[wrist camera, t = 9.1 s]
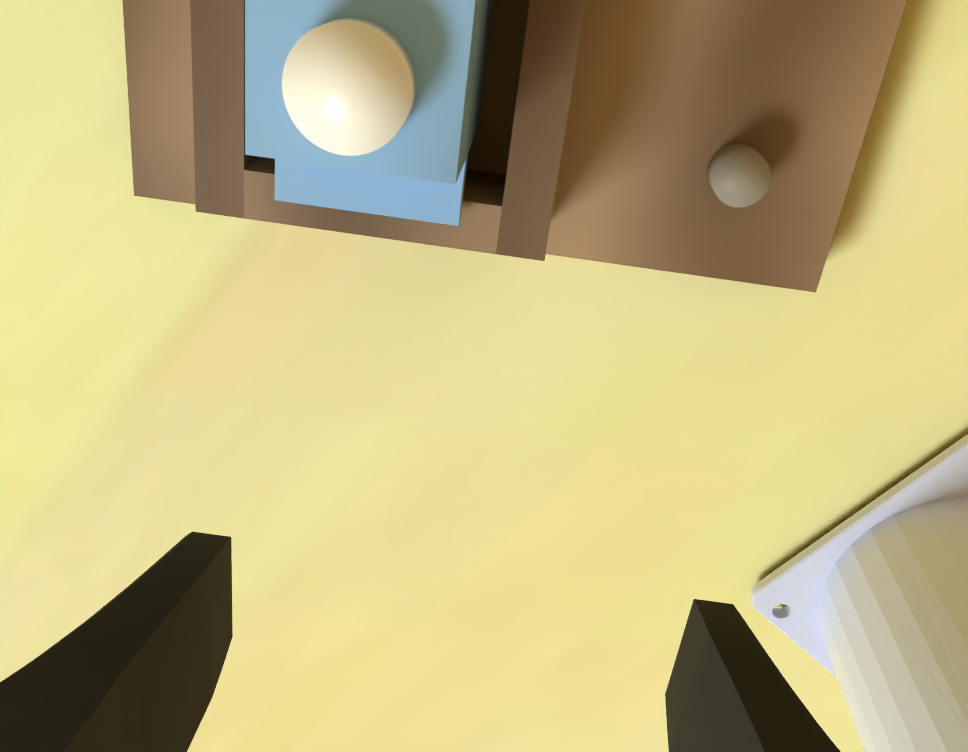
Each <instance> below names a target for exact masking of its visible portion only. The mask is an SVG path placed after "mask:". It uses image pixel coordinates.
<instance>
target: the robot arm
mask: <svg viewBox="0 0 968 752" xmlns="http://www.w3.org/2000/svg"><path fill="white" fill-rule="evenodd" d="M750 598H751V602H752V605H753V607H754V608H755V609H756V610H757V611H758V612H759V613H760V614H761V615H763V616H764V617H765V618H766V619H767V620H769V621H770V622H771V623H772V624H773V625H775V626H776V627H777V628H778V629H779V630H781V631H782V632H783V633H784V634H785V635H786V636H788V637H789V638H790V639H791V640H792V641H794V642H795V643H796V644H797V645H798V646H800V647H801V648H802V649H803V650H804V651H806V652H807V653H808V654H809V655H810V656H812V657H813V658H814V659H815V660H816V661H818V662H819V663H820V664H821V665H822V666H824V667H825V668H826V669H827V670H828V671H829V672H831V673H832V674H833V675H834V676H835V677H837V679H838V681H839V684H840V687H841V690H842V692H843V695H844V698H845V700H846V703H847V706H848V709H849V711H850V714H851V717H852V720H853V722H854V725H855V728H856V730H857V733H858V736H859V739H860V741H861V744H862V747H863V749H864V752H968V434H967V435H966V436H964V437H963V438H961V439H960V440H959V441H957V442H956V443H954V444H953V445H951V446H950V447H949V448H947V449H946V450H944V451H943V452H942V453H940V454H939V455H937V456H936V457H934V458H933V459H932V460H930V461H929V462H927V463H926V464H925V465H923V466H922V467H920V468H919V469H918V470H916V471H915V472H913V473H912V474H910V475H909V476H908V477H906V478H905V479H903V480H902V481H901V482H899V483H898V484H896V485H895V486H893V487H892V488H891V489H889V490H888V491H886V492H885V493H884V494H882V495H881V496H879V497H878V498H876V499H875V500H874V501H872V502H871V503H869V504H868V505H867V506H865V507H864V508H862V509H861V510H859V511H858V512H857V513H855V514H854V515H852V516H851V517H850V518H848V519H847V520H845V521H844V522H842V523H841V524H840V525H838V526H837V527H835V528H834V529H833V530H831V531H830V532H828V533H827V534H826V535H824V536H823V537H821V538H820V539H818V540H817V541H816V542H814V543H813V544H811V545H810V546H809V547H807V548H806V549H804V550H803V551H801V552H800V553H799V554H797V555H796V556H794V557H793V558H792V559H790V560H789V561H787V562H786V563H784V564H783V565H782V566H780V567H779V568H777V569H776V570H775V571H773V572H772V573H770V574H769V575H767V576H766V577H765V578H763V579H762V580H760V581H759V582H758V583H756V584H755V585H754V586H753V587H752V588H751V591H750ZM779 604H785V605H786V606H785V607H784V608H781V609H774V607H775V606H777V605H779ZM231 639H232V565H231V537H227V536H220V535H213V534H205V533H198V532H191V533H190V534H188V535H187V536H185V537H184V538H183V539H182V540H181V541H180V542H178V543H177V544H176V545H175V546H174V547H173V548H172V549H171V550H169V551H168V552H167V553H166V554H165V555H164V556H163V557H162V558H160V559H159V560H158V561H157V562H156V563H155V564H154V565H152V566H151V567H150V568H149V569H148V570H147V571H146V572H144V573H143V574H142V575H141V576H140V577H139V578H137V579H136V580H135V581H134V582H133V583H132V584H131V585H129V586H128V587H127V588H126V589H125V590H123V591H122V592H121V593H120V594H119V595H117V596H116V597H115V598H114V599H112V600H111V601H110V602H109V603H108V604H106V605H105V606H104V607H103V608H101V609H100V610H99V611H98V612H97V613H95V614H94V615H93V616H92V617H90V618H89V619H88V620H87V621H85V622H84V623H83V624H81V625H80V626H79V627H77V628H76V629H75V630H73V631H72V632H71V633H69V634H68V635H67V636H65V637H64V638H63V639H61V640H60V641H59V642H57V643H56V644H55V645H53V646H52V647H51V648H49V649H48V650H47V651H45V652H44V653H43V654H41V655H40V656H38V657H37V658H36V659H34V660H33V661H31V662H30V663H28V664H27V665H25V666H24V667H23V668H21V669H20V670H18V671H17V672H15V673H14V674H12V675H11V676H9V677H8V678H6V679H5V680H3V681H1V682H0V752H187V750H188V748H189V746H190V744H191V742H192V739H193V737H194V735H195V733H196V731H197V729H198V727H199V725H200V722H201V720H202V718H203V716H204V714H205V712H206V710H207V707H208V705H209V703H210V701H211V699H212V696H213V693H214V690H215V688H216V685H217V682H218V679H219V676H220V673H221V670H222V667H223V664H224V661H225V658H226V655H227V652H228V649H229V645H230V642H231ZM665 697H666V715H667V732H668V745H669V752H840V750H839V749H838V748H837V747H836V746H835V744H834V743H833V742H832V741H831V740H830V738H829V737H828V736H827V735H826V733H825V732H824V731H823V729H822V728H821V727H820V726H819V724H818V723H817V722H816V720H815V719H814V718H813V716H812V715H811V714H810V712H809V711H808V710H807V708H806V707H805V706H804V704H803V703H802V702H801V700H800V699H799V698H798V696H797V695H796V694H795V692H794V691H793V690H792V688H791V687H790V685H789V684H788V683H787V681H786V680H785V678H784V677H783V676H782V674H781V673H780V671H779V670H778V668H777V667H776V666H775V664H774V663H773V661H772V660H771V658H770V657H769V656H768V654H767V653H766V651H765V650H764V648H763V647H762V645H761V644H760V642H759V641H758V640H757V638H756V637H755V635H754V634H753V632H752V631H751V629H750V628H749V626H748V625H747V623H746V622H745V620H744V619H743V618H742V616H741V615H740V613H739V612H738V610H737V609H736V608H735V606H734V605H733V604H727V603H720V602H712V601H705V600H697V599H694V600H693V604H692V607H691V610H690V614H689V617H688V620H687V624H686V627H685V630H684V634H683V637H682V640H681V644H680V647H679V650H678V654H677V657H676V660H675V664H674V667H673V670H672V674H671V677H670V680H669V684H668V687H667V690H666V694H665Z"/></svg>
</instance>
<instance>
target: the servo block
mask: <svg viewBox="0 0 968 752" xmlns="http://www.w3.org/2000/svg"><path fill="white" fill-rule="evenodd" d="M493 5H494V0H245V155H252V156H259V157H266V158H273V159H275V196H274V200H277V201H284V202H291V203H298V204H305V205H312V206H320V207H327V208H334V209H341V210H348V211H355V212H362V213H369V214H376V215H383V216H390V217H397V218H405V219H412V220H419V221H426V222H433V223H440V224H447V225H454V226H458V225H459V222H460V219H461V212H462V203H463V194H464V185H465V177H466V168H467V159H468V152H469V150H470V147H471V145H472V142H473V140H474V138H475V135H476V133H477V130H478V128H479V125H480V117H481V108H482V100H483V91H484V82H485V74H486V65H487V57H488V48H489V40H490V31H491V23H492V14H493Z"/></svg>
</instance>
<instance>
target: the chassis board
mask: <svg viewBox="0 0 968 752" xmlns="http://www.w3.org/2000/svg"><path fill="white" fill-rule="evenodd" d="M906 3H907V0H494V5H493V14H492V23H491V31H490V40H489V48H488V57H487V65H486V74H485V82H484V91H483V100H482V108H481V117H480V125H479V128H478V130H477V133H476V135H475V138H474V140H473V142H472V145H471V147H470V150H469V152H468V159H467V168H466V177H465V185H464V194H463V203H462V212H461V219H460V222H459V225H458V226H454V225H447V224H440V223H433V222H426V221H419V220H412V219H405V218H397V217H390V216H383V215H376V214H369V213H362V212H355V211H348V210H341V209H334V208H327V207H320V206H312V205H305V204H298V203H291V202H284V201H277V200H274V196H275V159H273V158H266V157H259V156H252V155H245V0H123V14H124V31H125V48H126V65H127V82H128V99H129V116H130V133H131V150H132V167H133V184H134V196H141V197H148V198H155V199H162V200H169V201H176V202H183V203H190V204H196V212H203V213H210V214H217V215H224V216H231V217H238V218H246V219H253V220H260V221H267V222H274V223H281V224H288V225H295V226H302V227H309V228H316V229H323V230H330V231H337V232H344V233H351V234H358V235H365V236H372V237H379V238H386V239H393V240H400V241H407V242H415V243H422V244H429V245H436V246H443V247H450V248H457V249H464V250H471V251H478V252H485V253H492V254H499V255H506V256H513V257H520V258H527V259H534V260H541V261H544V260H545V254H550V255H557V256H564V257H571V258H578V259H585V260H592V261H599V262H606V263H613V264H620V265H627V266H634V267H641V268H648V269H655V270H662V271H670V272H677V273H684V274H691V275H698V276H705V277H712V278H719V279H726V280H733V281H740V282H747V283H754V284H761V285H768V286H775V287H782V288H789V289H796V290H803V291H810V292H816V290H817V287H818V284H819V281H820V277H821V274H822V271H823V268H824V265H825V261H826V258H827V255H828V252H829V249H830V245H831V242H832V239H833V236H834V233H835V229H836V226H837V223H838V220H839V217H840V213H841V210H842V207H843V204H844V201H845V198H846V194H847V191H848V188H849V185H850V182H851V178H852V175H853V172H854V169H855V166H856V162H857V159H858V156H859V153H860V150H861V146H862V143H863V140H864V137H865V134H866V130H867V127H868V124H869V121H870V118H871V115H872V111H873V108H874V105H875V102H876V99H877V95H878V92H879V89H880V86H881V83H882V79H883V76H884V73H885V70H886V67H887V63H888V60H889V57H890V54H891V51H892V47H893V44H894V41H895V38H896V35H897V32H898V28H899V25H900V22H901V19H902V16H903V12H904V9H905V6H906Z"/></svg>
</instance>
